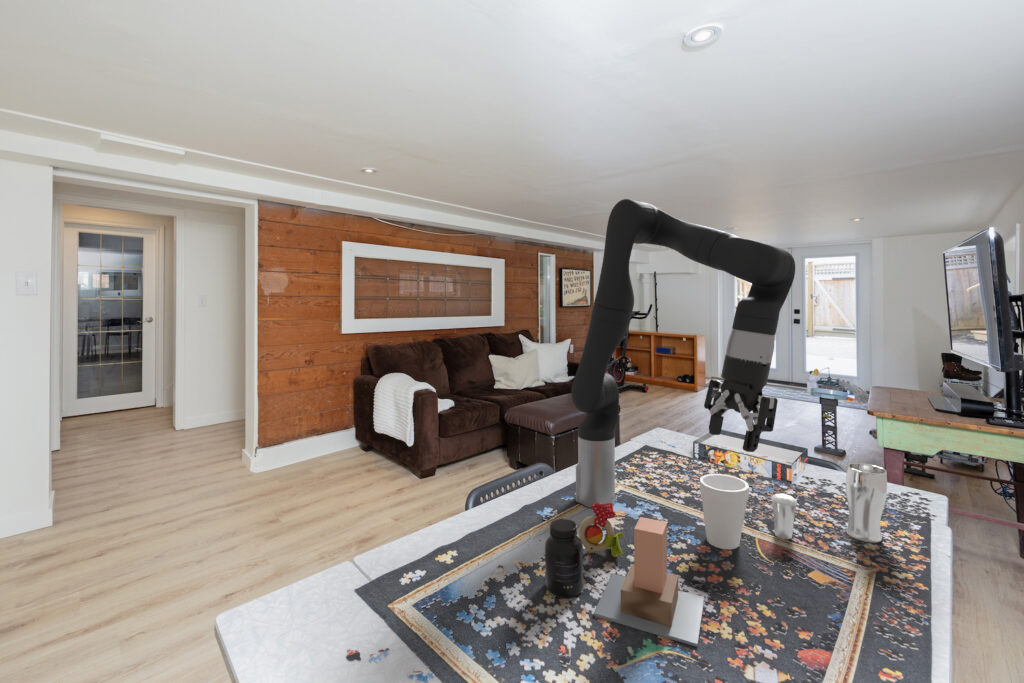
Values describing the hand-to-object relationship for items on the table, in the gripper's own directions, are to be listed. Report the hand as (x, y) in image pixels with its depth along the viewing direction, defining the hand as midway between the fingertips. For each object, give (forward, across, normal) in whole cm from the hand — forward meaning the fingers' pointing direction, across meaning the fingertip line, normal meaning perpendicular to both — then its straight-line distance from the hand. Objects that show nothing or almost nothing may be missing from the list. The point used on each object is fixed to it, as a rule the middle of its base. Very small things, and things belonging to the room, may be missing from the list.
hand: (730, 442), depth 85 cm
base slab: (+27, +6, -16) cm, 32 cm away
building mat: (+27, +6, -16) cm, 32 cm away
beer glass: (+20, +1, +40) cm, 44 cm away
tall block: (+23, +6, -17) cm, 29 cm away
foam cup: (+25, -7, +10) cm, 28 cm away
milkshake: (+22, -5, +24) cm, 33 cm away
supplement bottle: (+30, -4, -27) cm, 41 cm away
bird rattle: (+29, -12, -15) cm, 35 cm away
